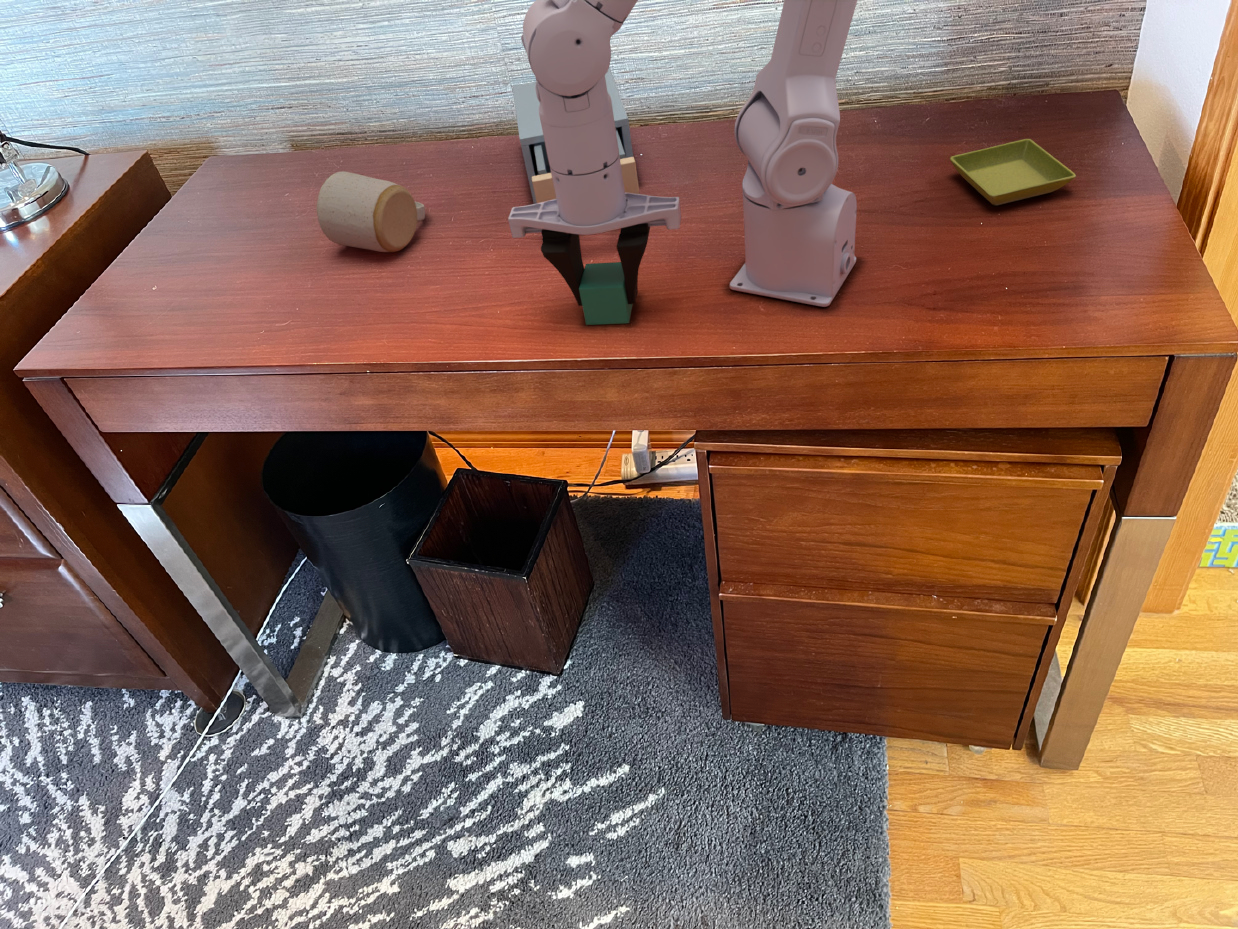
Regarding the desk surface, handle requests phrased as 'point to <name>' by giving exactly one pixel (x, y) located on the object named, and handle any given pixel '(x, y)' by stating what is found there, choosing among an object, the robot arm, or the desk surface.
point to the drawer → (545, 182)
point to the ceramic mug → (367, 212)
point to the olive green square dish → (1012, 171)
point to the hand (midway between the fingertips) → (608, 298)
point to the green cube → (604, 294)
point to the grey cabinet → (533, 130)
